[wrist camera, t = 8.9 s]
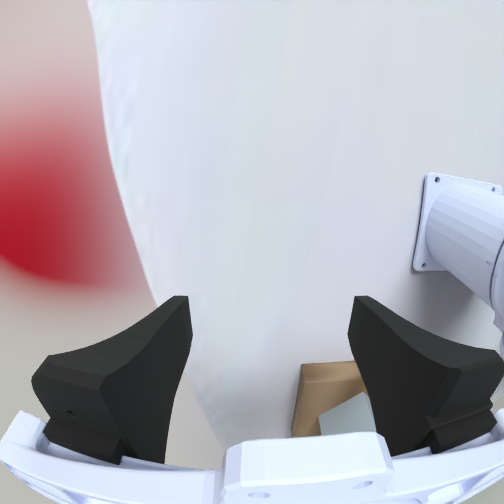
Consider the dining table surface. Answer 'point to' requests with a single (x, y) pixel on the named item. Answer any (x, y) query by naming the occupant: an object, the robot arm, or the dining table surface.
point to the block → (348, 417)
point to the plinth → (323, 393)
